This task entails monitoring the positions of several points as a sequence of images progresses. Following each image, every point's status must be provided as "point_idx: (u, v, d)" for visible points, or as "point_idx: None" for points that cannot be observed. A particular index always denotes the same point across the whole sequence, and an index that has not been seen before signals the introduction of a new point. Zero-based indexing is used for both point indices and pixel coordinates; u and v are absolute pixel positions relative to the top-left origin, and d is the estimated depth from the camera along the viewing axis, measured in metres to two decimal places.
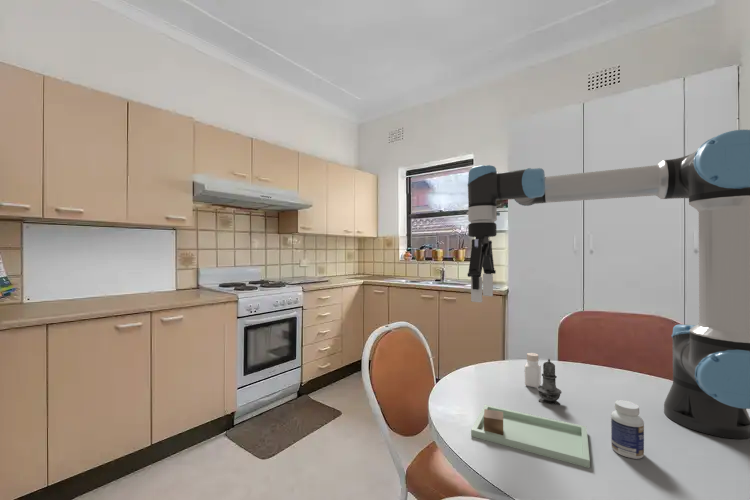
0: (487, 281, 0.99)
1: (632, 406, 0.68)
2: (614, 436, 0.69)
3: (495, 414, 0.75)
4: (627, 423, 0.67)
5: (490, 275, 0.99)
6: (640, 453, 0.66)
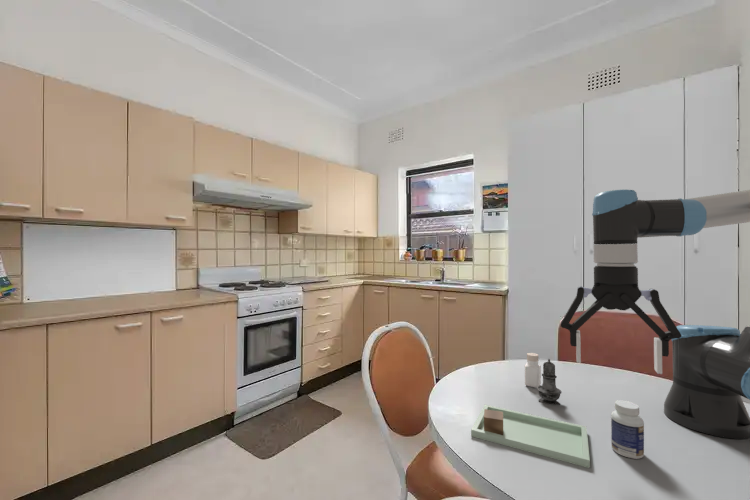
0: (655, 349, 0.67)
1: (632, 406, 0.68)
2: (614, 436, 0.69)
3: (495, 414, 0.75)
4: (627, 423, 0.67)
5: (656, 341, 0.67)
6: (640, 453, 0.66)
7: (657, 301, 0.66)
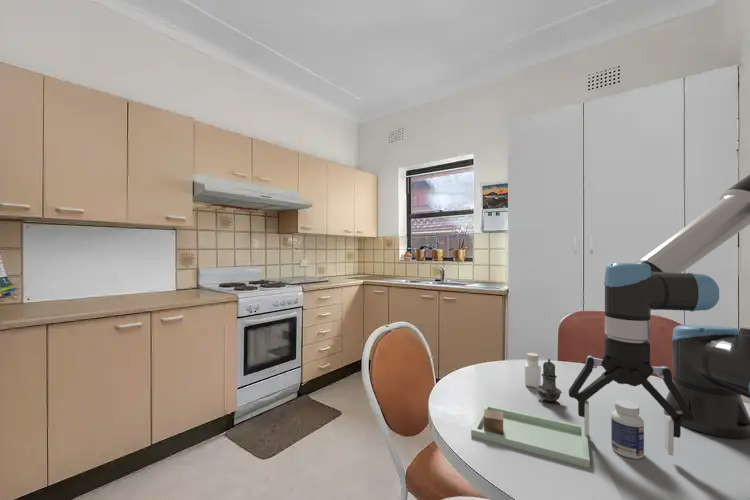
0: (666, 429, 0.66)
1: (632, 406, 0.68)
2: (614, 436, 0.69)
3: (495, 414, 0.75)
4: (627, 423, 0.67)
5: (667, 421, 0.65)
6: (640, 453, 0.66)
7: (669, 380, 0.65)
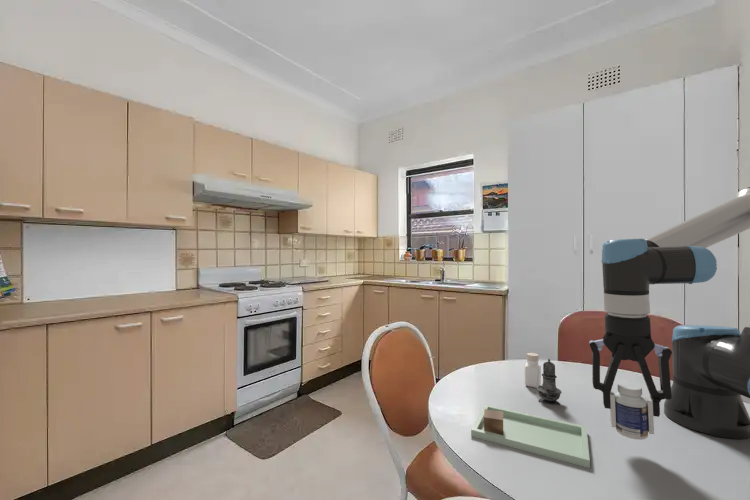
0: None
1: (634, 387, 0.68)
2: (617, 418, 0.69)
3: (495, 414, 0.75)
4: (630, 404, 0.67)
5: (647, 401, 0.67)
6: (644, 434, 0.66)
7: (666, 360, 0.65)
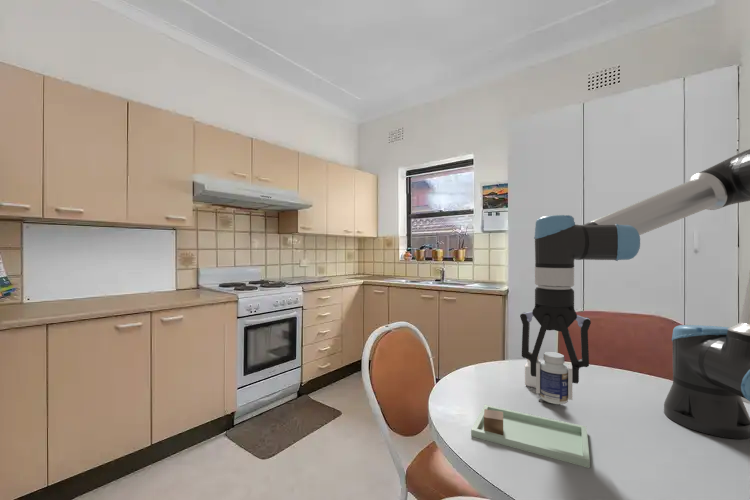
0: None
1: (557, 355, 0.72)
2: (541, 385, 0.73)
3: (495, 414, 0.75)
4: (552, 371, 0.71)
5: (568, 369, 0.71)
6: (563, 399, 0.70)
7: (585, 330, 0.69)
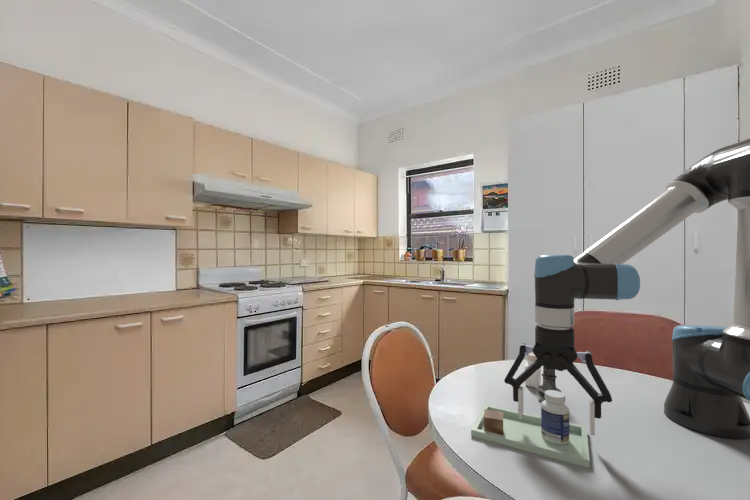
0: None
1: (558, 395, 0.72)
2: (542, 424, 0.73)
3: (495, 414, 0.75)
4: (553, 411, 0.71)
5: (590, 403, 0.69)
6: (564, 439, 0.70)
7: (591, 365, 0.69)
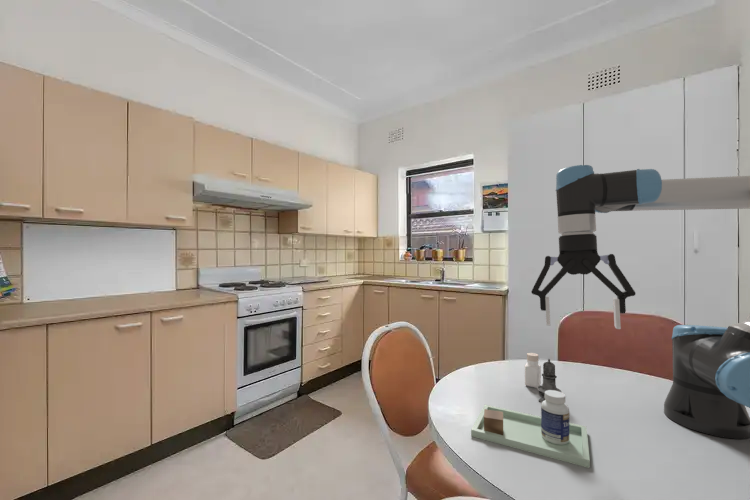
0: (614, 308, 0.75)
1: (558, 395, 0.72)
2: (542, 424, 0.73)
3: (495, 414, 0.75)
4: (553, 411, 0.71)
5: (614, 300, 0.74)
6: (564, 439, 0.70)
7: (614, 264, 0.74)
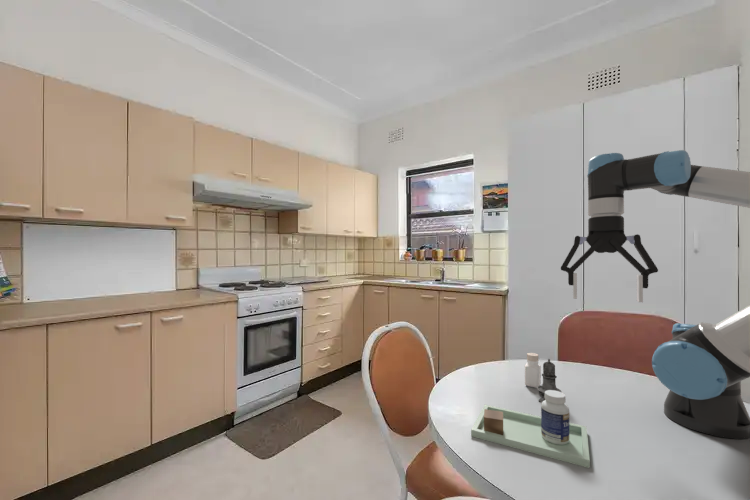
0: (637, 284, 0.82)
1: (558, 395, 0.72)
2: (542, 424, 0.73)
3: (495, 414, 0.75)
4: (553, 411, 0.71)
5: (638, 276, 0.82)
6: (564, 439, 0.70)
7: (639, 243, 0.81)
